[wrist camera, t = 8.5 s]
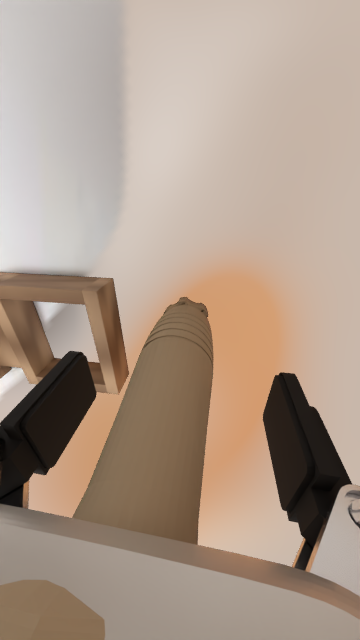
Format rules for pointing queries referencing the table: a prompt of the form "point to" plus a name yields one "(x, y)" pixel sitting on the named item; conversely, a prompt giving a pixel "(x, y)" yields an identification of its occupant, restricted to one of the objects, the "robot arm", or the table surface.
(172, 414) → the handle
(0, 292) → the toolbox
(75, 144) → the table surface
